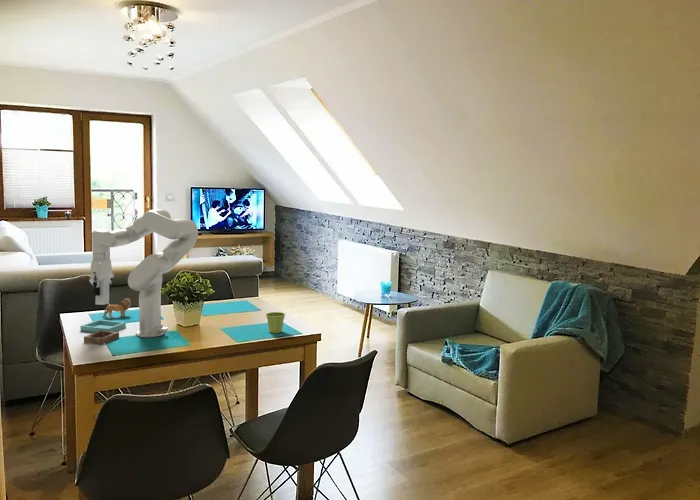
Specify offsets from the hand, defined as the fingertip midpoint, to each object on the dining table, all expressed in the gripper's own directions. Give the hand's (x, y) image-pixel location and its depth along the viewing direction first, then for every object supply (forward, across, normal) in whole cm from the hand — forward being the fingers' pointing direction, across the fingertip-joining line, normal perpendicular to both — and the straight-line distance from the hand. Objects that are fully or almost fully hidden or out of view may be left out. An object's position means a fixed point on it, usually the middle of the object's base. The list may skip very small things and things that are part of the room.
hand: (102, 293), depth 283 cm
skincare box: (+5, 0, 0) cm, 5 cm away
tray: (+17, 0, 0) cm, 17 cm away
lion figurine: (+18, -23, -10) cm, 31 cm away
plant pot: (+17, -26, +77) cm, 83 cm away
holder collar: (+17, +15, +11) cm, 25 cm away
